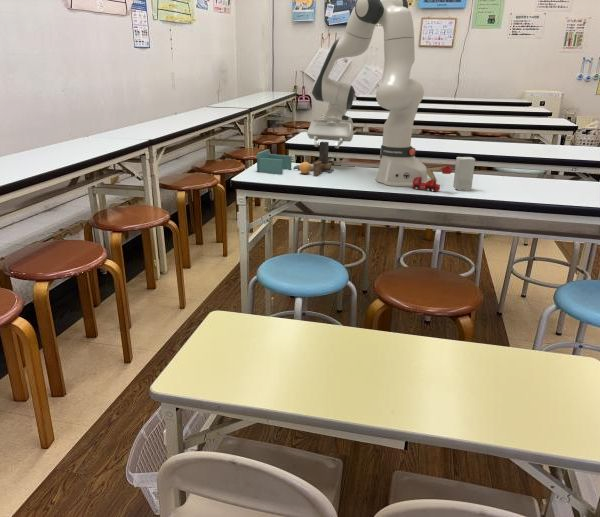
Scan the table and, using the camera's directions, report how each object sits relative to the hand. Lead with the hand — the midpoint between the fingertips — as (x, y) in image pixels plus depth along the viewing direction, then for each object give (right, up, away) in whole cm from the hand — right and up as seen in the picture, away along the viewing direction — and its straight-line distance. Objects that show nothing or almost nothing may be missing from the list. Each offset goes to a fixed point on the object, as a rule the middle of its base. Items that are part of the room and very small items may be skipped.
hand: (326, 146), depth 220 cm
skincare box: (+51, -22, -26) cm, 61 cm away
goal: (-23, -10, +1) cm, 25 cm away
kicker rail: (-5, -10, +3) cm, 11 cm away
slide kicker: (-3, -12, -3) cm, 12 cm away
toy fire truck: (+38, -23, -28) cm, 53 cm away
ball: (-9, -10, -5) cm, 14 cm away
